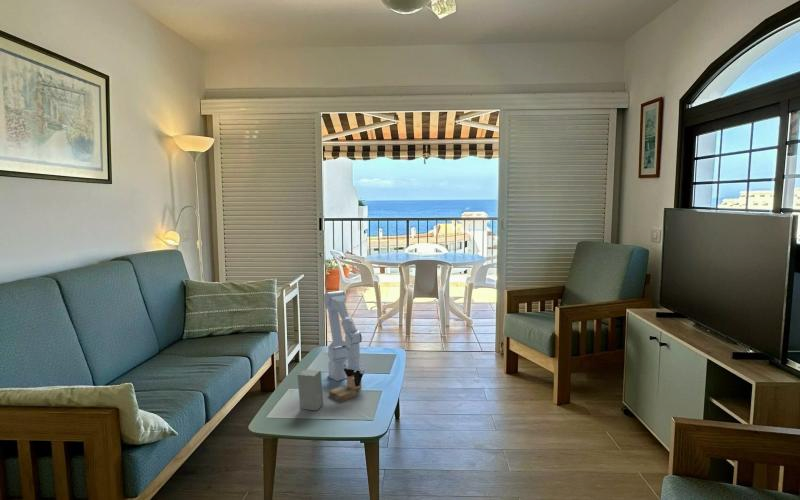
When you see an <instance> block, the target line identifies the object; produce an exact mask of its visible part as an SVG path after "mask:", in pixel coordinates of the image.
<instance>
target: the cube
mask: <svg viewBox="0 0 800 500" xmlns="http://www.w3.org/2000/svg"><path fill="white" fill-rule="evenodd" d="M346 386H348V387H350V388H352V389H354V390H357V389H360V388H362V381H361V382H360V386H357V387H356V386H355V379H354V376H353V375H352V376H349V377H347V378H346Z"/></svg>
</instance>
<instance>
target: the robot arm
mask: <svg viewBox="0 0 800 500" xmlns="http://www.w3.org/2000/svg"><path fill="white" fill-rule="evenodd" d="M323 302H324V303H323V304H324V307H325V309H326V310H327V313H328V320H329V327H330V332H331V333H330V334H331V339H332V341H331V343H330V344H329V345H328V346H327V350H328V352H327V357H328V359H329V361H328V374H327V375H326V377H328V378H330V379H332V380H334V381H336V382H339V381H343V380H345V379H346V380H347V377H349V376H352V375H353V376H354V379H355V386H356V387H357V386H360V382H361V383H362V379H363V376H364V374H365V372H366V371H365V370H366V369H365V368H364V367H363V366H361V363H360V362H361V359H360V356H361V355H360V352H361V349H360V348H361V346H360V343H362V341H363V339H362V338H363V337H362V333H361V331H359V329H358V328H356V325H355V323H354V320H353V319H352V318H351V317H350V315H349V311H348V308H347V306H346V302H347V294H346V292H345V291H344V290H342V289H340V290H336V291H335V290H333V291H326V292H325V293H324V296H323ZM340 318H341V321H340ZM341 326H342V328H341ZM342 329H343V331H344V333H345V336H344V340H343V334H342Z"/></svg>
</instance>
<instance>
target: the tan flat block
mask: <svg viewBox="0 0 800 500" xmlns="http://www.w3.org/2000/svg"><path fill="white" fill-rule="evenodd" d="M357 391H358V390H357V389H355V390H354V389H352V388H350V387H348V386H347V384H346V385H342V386H339V387H336V388H333V389H329V390H328V395H329V397H330V398H333V399H334V400H336V401H337V402H340V403H341V402H344V401H347V400H350V399H354V398H355V397H358V395H357V393H358V392H357Z"/></svg>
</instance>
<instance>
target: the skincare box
mask: <svg viewBox="0 0 800 500" xmlns="http://www.w3.org/2000/svg"><path fill="white" fill-rule="evenodd" d="M296 376H297V386H298V397H299V407H300V408H299V409H301V410H307V411H308V410H309V411H310V410H311V411H317V410H319V409H320V408H321V407H322V406H324V394H323V385H322V372H321V370H318V369H317V370H314V369H306V368H305V369H303V370H302V371H301V372H299V373H298V374H297V375H296Z"/></svg>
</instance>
